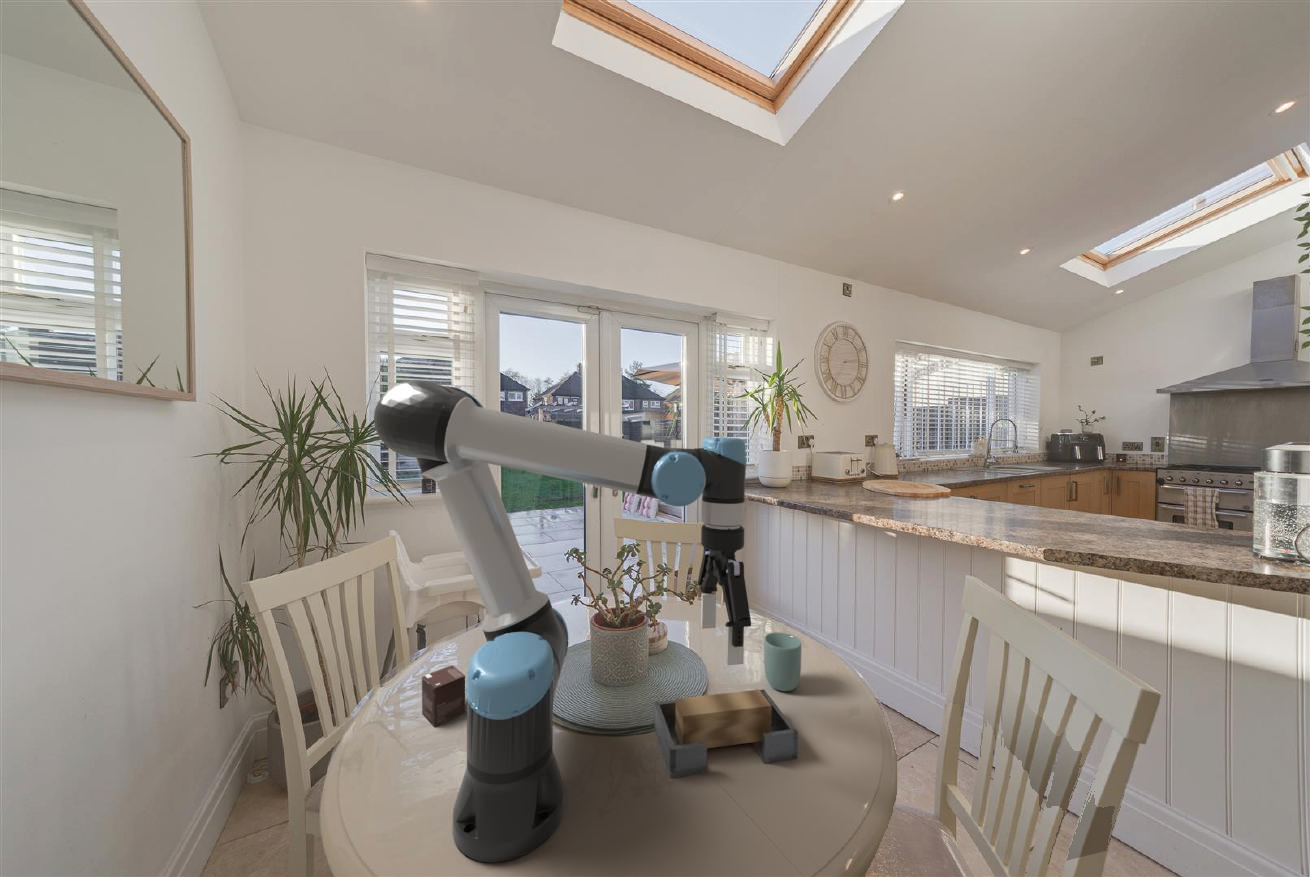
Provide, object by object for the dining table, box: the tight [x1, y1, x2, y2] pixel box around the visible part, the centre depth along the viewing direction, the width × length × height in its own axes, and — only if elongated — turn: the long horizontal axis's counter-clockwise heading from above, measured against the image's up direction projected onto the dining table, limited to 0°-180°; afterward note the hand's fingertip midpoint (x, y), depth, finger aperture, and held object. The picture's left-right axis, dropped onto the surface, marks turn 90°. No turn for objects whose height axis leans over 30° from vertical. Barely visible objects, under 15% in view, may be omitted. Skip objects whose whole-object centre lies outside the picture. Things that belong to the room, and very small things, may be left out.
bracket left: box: [653, 699, 708, 779], centre depth 77 cm, size 6×13×4 cm, turn 12°
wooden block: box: [675, 689, 771, 749], centre depth 79 cm, size 16×5×6 cm, turn 101°
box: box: [421, 664, 466, 727], centre depth 86 cm, size 6×6×7 cm
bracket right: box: [750, 689, 799, 764], centre depth 81 cm, size 6×13×4 cm, turn 12°
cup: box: [763, 631, 803, 692], centre depth 97 cm, size 8×8×10 cm
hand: (720, 644), depth 79 cm, fingers open, 13 cm apart
